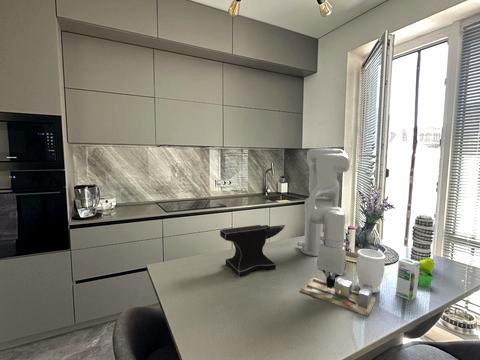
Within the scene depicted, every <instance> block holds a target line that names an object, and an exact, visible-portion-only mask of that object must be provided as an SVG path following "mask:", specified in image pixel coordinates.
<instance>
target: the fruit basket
mask: <svg viewBox="0 0 480 360" xmlns="http://www.w3.org/2000/svg"><path fill="white" fill-rule="evenodd" d="M419 262H420V267H419V276H418V286H419V287H420V286H421V287H427V288H430V286H431V283H432V282H433V280H434V279H435V276H434V275H433V274H432V272H433V270H434V266H435V262H434V259H432V258H431V257H430V258H426V259H425V260H421V261H419Z"/></svg>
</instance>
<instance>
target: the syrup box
mask: <svg viewBox="0 0 480 360" xmlns="http://www.w3.org/2000/svg"><path fill="white" fill-rule="evenodd" d="M419 267H420V262H417V261H414V260H411V259H410V258H407V257H402V258H400V259H399V260H398V264H397V278H396V288H395V295H396V296H398V297H401V298H404V299H406V300H408V301H410V302H412V301H413V300H414V299H415V298H416V297H417V296H418V295H417V293H418V286H419V285H418V276H419Z"/></svg>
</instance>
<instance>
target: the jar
mask: <svg viewBox="0 0 480 360" xmlns="http://www.w3.org/2000/svg"><path fill="white" fill-rule="evenodd" d="M357 255H358V256H357V258H356V276H357V279H358V282H357V286H358V288H360V289H361V288H362V286H363V285H364V284H366V285H369V286H373V287H372V294H373V293H378V292H380V290H381V288H380V286H381V284H382V282H383V278H384V274H385V270H386V267H385V260H386V254H384V253H383V252H381V251H378V250H375V249H371V248H359V249H358V250H357Z"/></svg>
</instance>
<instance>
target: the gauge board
mask: <svg viewBox="0 0 480 360" xmlns="http://www.w3.org/2000/svg"><path fill="white" fill-rule="evenodd" d="M313 279H316V280H319V281H322V282H325V283H326V280H322V279H319V278H317V277H311V278H310V279H308V281H307V282H306V283H304V285H302V286H301V287H300V292H302V293H305V294H308V295H310V296H312V297H316V298H318V299H322V300H324V301H327V302H328V303H332V304H334V303H335V305H338V306H339V307H342V308H345V309H349V310H351V311H354V312H356V313H358V314H359V313H360V314H362V315H365V316H366V317H369V316H370V314H371V312H372V309H373V307H374V304H375V302H376V297H375V296H372V299H371V301H370V304H369V306H368V308H367V309H365V308H363V307H360V306H358V299H359V296H357V295H354V294H351V296H350V297H349V299H350V300H353V301H356V304H354V303H353V302H350V301H348V300H345V299H342V298H339V297H336V296H334V295H331V294H328V293H325V292H322V291H319V290H317V289H314V288H313V289H312V288H309V287H307V285H310V286H313V287H316V288H319V289H322V290H324V291H327V292H330V293H333V294H335V288H333V287H332V289H330V288H327V285H324V284H321V283H318V282H315V281H313ZM352 292H355V293H358V294H359V292H360V291H356V290H353V289H352Z"/></svg>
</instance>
